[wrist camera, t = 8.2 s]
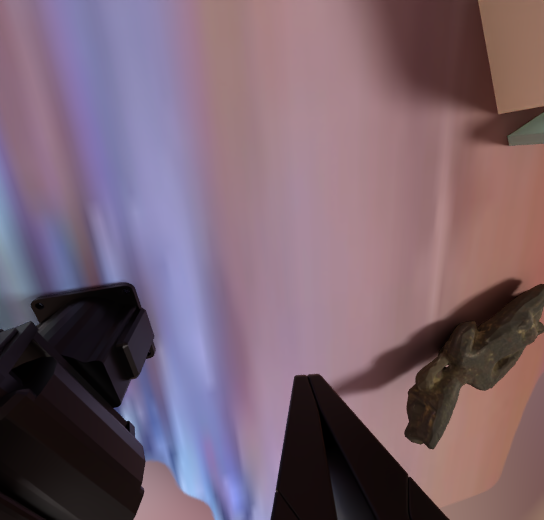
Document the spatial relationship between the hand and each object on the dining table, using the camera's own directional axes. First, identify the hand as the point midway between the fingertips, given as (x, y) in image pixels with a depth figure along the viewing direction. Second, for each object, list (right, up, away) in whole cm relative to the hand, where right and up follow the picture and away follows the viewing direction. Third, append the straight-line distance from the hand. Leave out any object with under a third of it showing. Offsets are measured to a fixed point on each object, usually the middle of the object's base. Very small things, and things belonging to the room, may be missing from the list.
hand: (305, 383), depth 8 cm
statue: (+18, -4, +19) cm, 26 cm away
